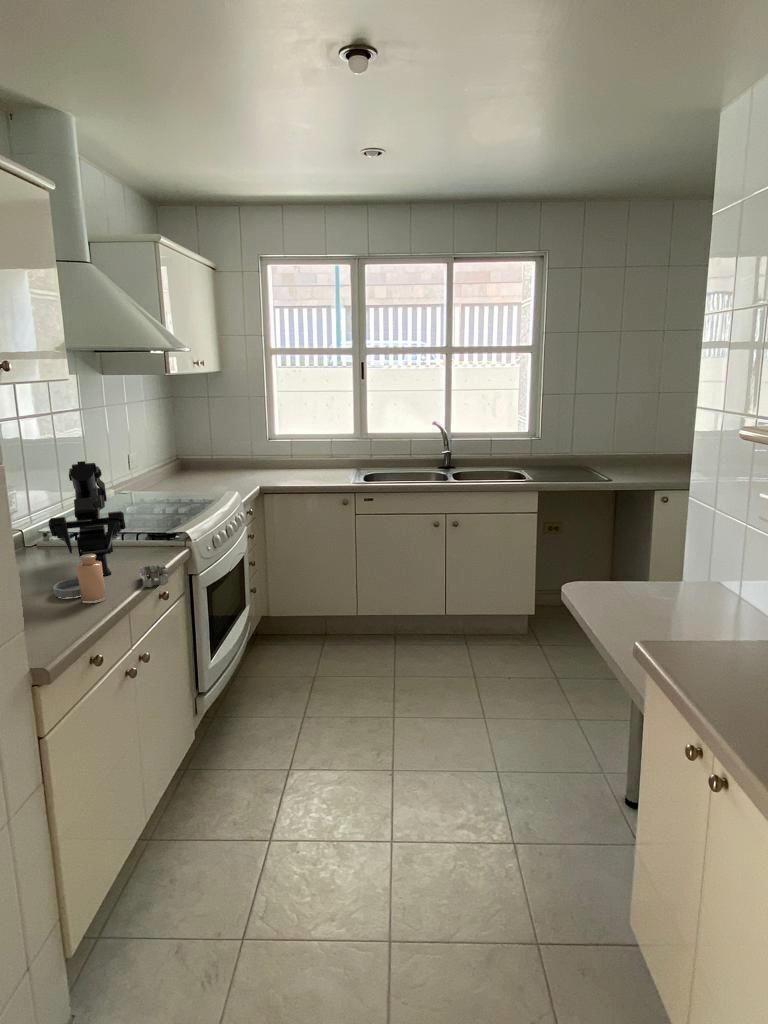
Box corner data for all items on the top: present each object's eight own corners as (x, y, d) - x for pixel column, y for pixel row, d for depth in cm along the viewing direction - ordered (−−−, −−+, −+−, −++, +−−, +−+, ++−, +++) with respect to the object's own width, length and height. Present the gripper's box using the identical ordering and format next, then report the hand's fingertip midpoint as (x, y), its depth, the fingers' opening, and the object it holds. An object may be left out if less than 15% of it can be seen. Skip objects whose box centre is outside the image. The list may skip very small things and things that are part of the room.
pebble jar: (79, 599, 178) (73, 555, 175) (103, 594, 181) (98, 551, 178) (83, 606, 173) (77, 561, 170) (108, 601, 176) (102, 556, 173)
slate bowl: (52, 590, 185) (51, 582, 184) (92, 583, 190) (91, 574, 189) (57, 602, 176) (56, 593, 176) (100, 593, 182) (98, 585, 181)
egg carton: (169, 585, 187) (167, 572, 186) (140, 589, 185) (139, 575, 184) (168, 573, 197) (167, 560, 196) (141, 577, 195) (139, 563, 194)
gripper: (44, 488, 177) (45, 539, 170) (119, 482, 183) (124, 531, 176) (51, 511, 186) (53, 560, 179) (123, 504, 192) (127, 552, 185)
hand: (89, 550), depth 179 cm, fingers open, 9 cm apart
